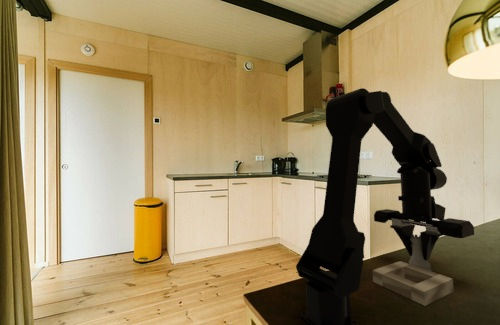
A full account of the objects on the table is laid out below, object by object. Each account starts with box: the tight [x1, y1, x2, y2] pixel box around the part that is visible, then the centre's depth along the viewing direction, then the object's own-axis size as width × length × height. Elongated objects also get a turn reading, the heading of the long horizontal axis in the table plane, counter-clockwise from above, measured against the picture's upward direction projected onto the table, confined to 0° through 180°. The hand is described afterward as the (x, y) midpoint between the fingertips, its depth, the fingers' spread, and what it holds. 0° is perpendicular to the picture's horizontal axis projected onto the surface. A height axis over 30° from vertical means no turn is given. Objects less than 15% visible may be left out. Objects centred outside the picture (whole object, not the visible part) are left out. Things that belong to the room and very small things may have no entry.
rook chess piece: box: [408, 234, 432, 272], centre depth 53 cm, size 4×4×8 cm
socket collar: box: [372, 260, 454, 307], centre depth 47 cm, size 10×10×2 cm
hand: (419, 257), depth 53 cm, fingers closed on rook chess piece, 3 cm apart
